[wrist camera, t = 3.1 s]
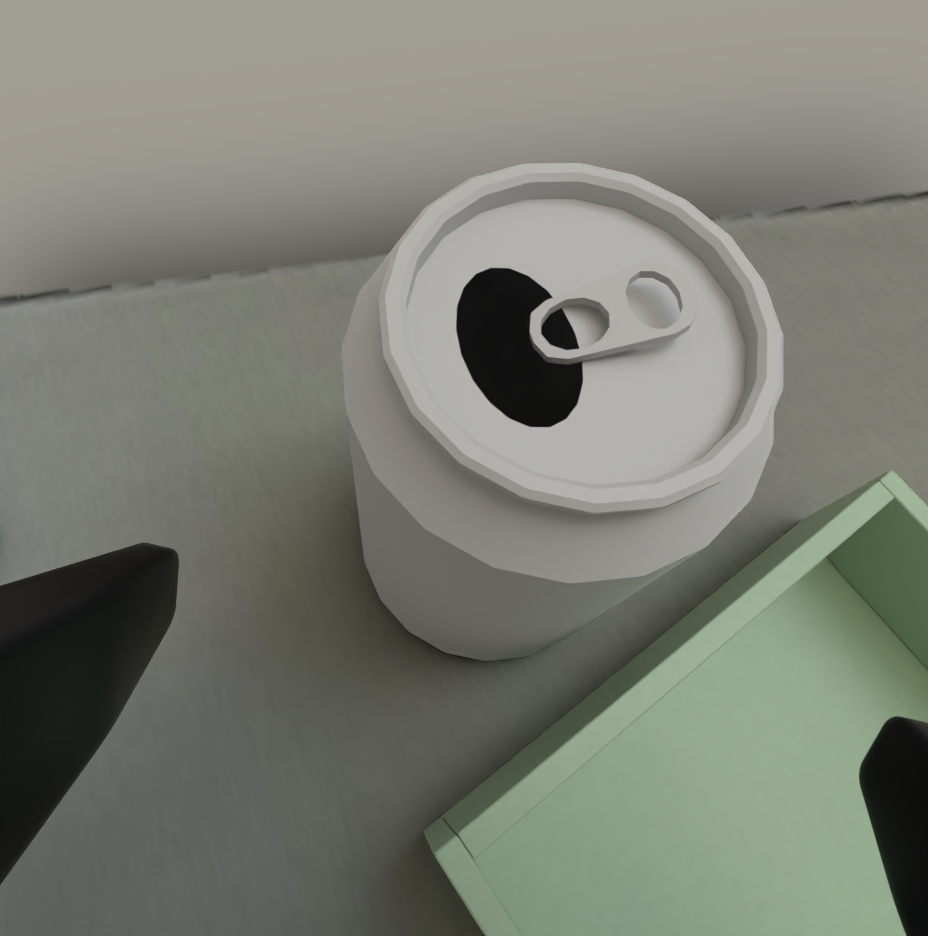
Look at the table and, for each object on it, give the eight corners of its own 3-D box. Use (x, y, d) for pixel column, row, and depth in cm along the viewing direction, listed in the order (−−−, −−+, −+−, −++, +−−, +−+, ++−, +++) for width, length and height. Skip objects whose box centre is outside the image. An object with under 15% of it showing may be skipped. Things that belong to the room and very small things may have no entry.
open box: (778, 1393, 14) (929, 1640, 10) (422, 831, 18) (432, 853, 14) (1138, 891, 19) (1340, 928, 15) (801, 519, 22) (892, 468, 18)
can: (338, 457, 22) (287, 151, 11) (558, 409, 23) (712, 96, 12) (395, 697, 19) (407, 620, 8) (639, 626, 21) (929, 479, 10)
